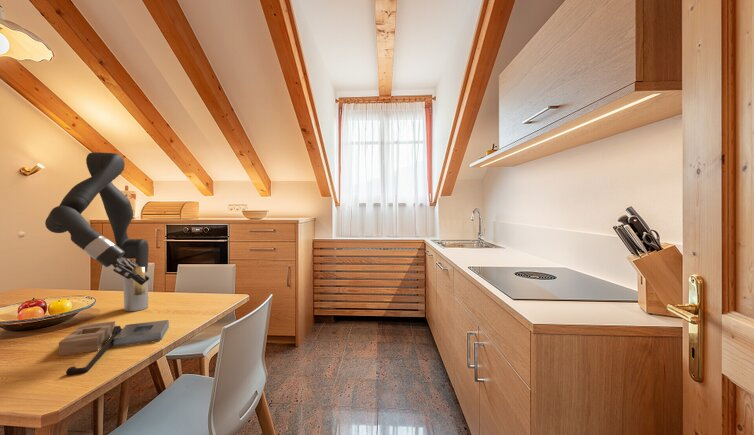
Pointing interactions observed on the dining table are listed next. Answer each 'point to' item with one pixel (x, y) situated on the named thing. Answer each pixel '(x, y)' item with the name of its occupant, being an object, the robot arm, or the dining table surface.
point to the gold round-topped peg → (137, 287)
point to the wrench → (85, 369)
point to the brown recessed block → (86, 338)
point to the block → (141, 333)
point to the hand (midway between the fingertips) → (145, 281)
